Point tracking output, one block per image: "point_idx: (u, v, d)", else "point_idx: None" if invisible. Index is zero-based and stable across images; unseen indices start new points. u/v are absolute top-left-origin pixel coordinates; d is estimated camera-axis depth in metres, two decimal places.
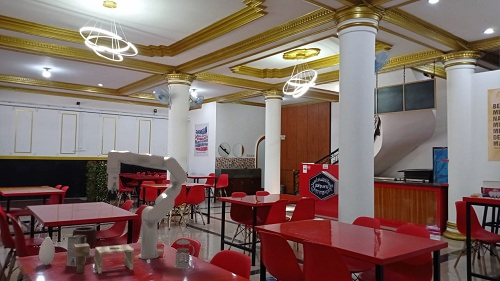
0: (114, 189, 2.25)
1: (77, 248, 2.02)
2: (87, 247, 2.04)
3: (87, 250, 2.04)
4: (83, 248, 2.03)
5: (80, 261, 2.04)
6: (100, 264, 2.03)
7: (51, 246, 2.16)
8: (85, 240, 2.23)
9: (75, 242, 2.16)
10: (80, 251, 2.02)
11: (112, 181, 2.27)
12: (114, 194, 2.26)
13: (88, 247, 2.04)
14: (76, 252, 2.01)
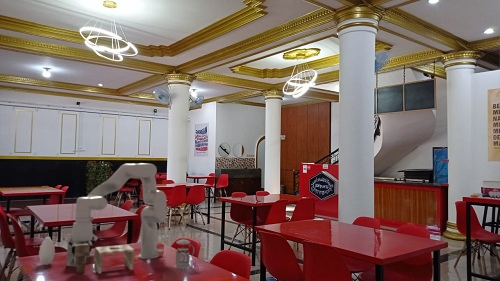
0: (95, 240, 2.09)
1: (77, 248, 2.02)
2: (87, 247, 2.04)
3: (87, 250, 2.04)
4: (83, 248, 2.03)
5: (80, 261, 2.04)
6: (100, 264, 2.03)
7: (51, 246, 2.16)
8: None
9: None
10: (80, 251, 2.02)
11: (92, 231, 2.08)
12: None
13: (88, 247, 2.04)
14: (76, 252, 2.01)
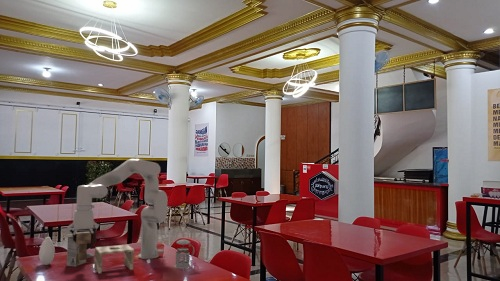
0: None
1: (78, 236, 2.02)
2: (88, 235, 2.05)
3: (88, 238, 2.05)
4: (84, 236, 2.04)
5: (82, 249, 2.05)
6: (100, 264, 2.03)
7: (51, 246, 2.16)
8: None
9: None
10: (81, 239, 2.03)
11: (93, 219, 2.08)
12: (92, 233, 2.09)
13: (89, 235, 2.05)
14: (78, 240, 2.02)
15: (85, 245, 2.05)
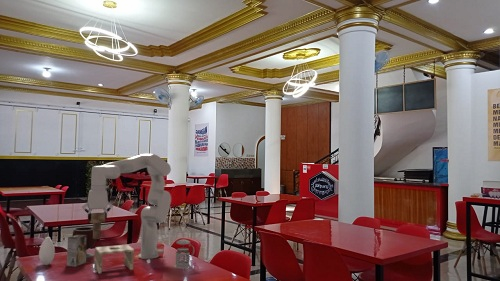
0: None
1: (93, 215, 2.06)
2: (103, 214, 2.09)
3: (103, 217, 2.09)
4: (99, 215, 2.08)
5: (96, 228, 2.08)
6: (100, 264, 2.03)
7: (51, 246, 2.16)
8: (85, 240, 2.23)
9: (75, 242, 2.16)
10: (96, 218, 2.07)
11: (107, 199, 2.12)
12: (106, 213, 2.13)
13: (104, 214, 2.09)
14: (92, 219, 2.06)
15: (99, 224, 2.09)
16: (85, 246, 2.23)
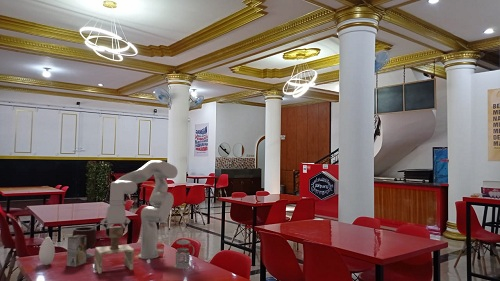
0: (128, 223, 2.18)
1: (112, 230, 2.10)
2: (121, 229, 2.13)
3: (121, 232, 2.12)
4: (117, 230, 2.12)
5: (114, 242, 2.12)
6: (100, 264, 2.03)
7: (51, 246, 2.16)
8: (85, 240, 2.23)
9: (75, 242, 2.16)
10: (114, 233, 2.11)
11: (125, 214, 2.16)
12: None
13: (122, 229, 2.13)
14: (111, 234, 2.10)
15: (117, 239, 2.13)
16: (85, 246, 2.23)
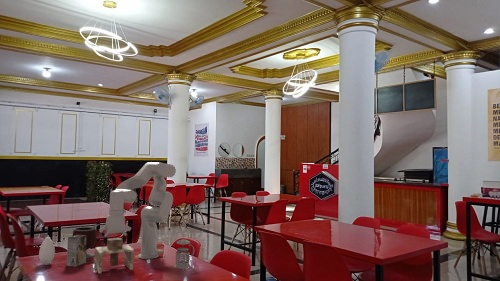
0: (129, 230, 2.18)
1: (111, 242, 2.10)
2: (120, 241, 2.12)
3: (120, 244, 2.12)
4: (117, 242, 2.11)
5: (114, 254, 2.12)
6: (100, 264, 2.03)
7: (51, 246, 2.16)
8: (85, 240, 2.23)
9: (75, 242, 2.16)
10: (114, 245, 2.10)
11: None
12: None
13: (121, 241, 2.12)
14: (110, 246, 2.09)
15: None
16: (85, 246, 2.23)
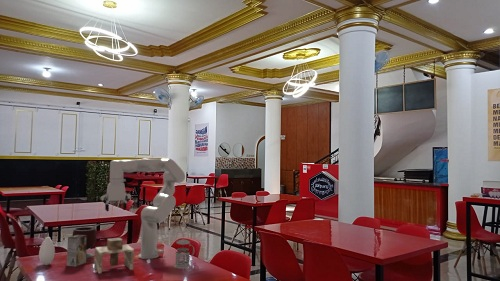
0: (129, 198, 2.28)
1: (111, 242, 2.10)
2: (120, 241, 2.12)
3: (120, 244, 2.12)
4: (117, 242, 2.11)
5: (114, 254, 2.12)
6: (100, 264, 2.03)
7: (51, 246, 2.16)
8: (85, 240, 2.23)
9: (75, 242, 2.16)
10: (114, 245, 2.10)
11: None
12: None
13: (121, 241, 2.12)
14: (110, 246, 2.09)
15: None
16: (85, 246, 2.23)
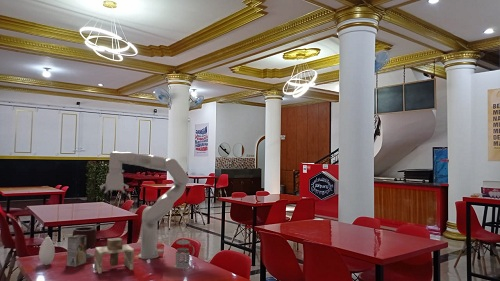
0: (127, 188, 2.40)
1: (111, 242, 2.10)
2: (120, 241, 2.12)
3: (120, 244, 2.12)
4: (117, 242, 2.11)
5: (114, 254, 2.12)
6: (100, 264, 2.03)
7: (51, 246, 2.16)
8: (85, 240, 2.23)
9: (75, 242, 2.16)
10: (114, 245, 2.10)
11: None
12: None
13: (121, 241, 2.12)
14: (110, 246, 2.09)
15: None
16: (85, 246, 2.23)
